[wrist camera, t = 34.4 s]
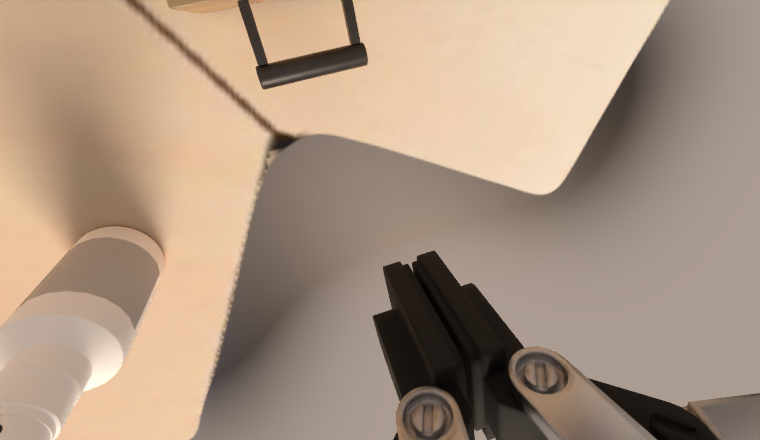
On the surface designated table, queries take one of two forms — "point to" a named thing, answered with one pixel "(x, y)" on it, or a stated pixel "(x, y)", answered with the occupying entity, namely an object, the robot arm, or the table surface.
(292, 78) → the drawer
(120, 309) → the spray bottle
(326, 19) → the table surface
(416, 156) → the table surface
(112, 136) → the table surface
